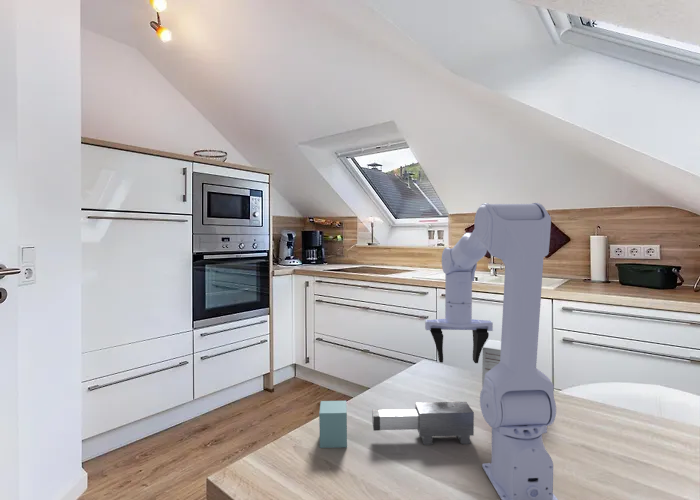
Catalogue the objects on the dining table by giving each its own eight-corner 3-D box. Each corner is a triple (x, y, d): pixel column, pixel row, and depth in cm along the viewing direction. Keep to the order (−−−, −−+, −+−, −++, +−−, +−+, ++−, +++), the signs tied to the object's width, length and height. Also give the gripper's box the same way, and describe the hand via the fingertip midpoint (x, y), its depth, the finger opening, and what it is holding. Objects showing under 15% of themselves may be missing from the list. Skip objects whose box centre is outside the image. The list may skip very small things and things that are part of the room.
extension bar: (464, 428, 72) (464, 414, 72) (373, 430, 72) (373, 416, 72) (459, 421, 75) (459, 408, 75) (372, 423, 75) (372, 409, 75)
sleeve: (473, 443, 72) (473, 412, 71) (419, 444, 72) (419, 413, 71) (465, 431, 76) (466, 401, 76) (415, 432, 76) (415, 402, 76)
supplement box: (487, 388, 96) (488, 338, 95) (519, 395, 92) (520, 343, 92) (481, 400, 90) (481, 346, 89) (515, 407, 86) (516, 351, 85)
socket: (347, 447, 71) (346, 412, 71) (319, 447, 71) (319, 413, 71) (346, 432, 76) (346, 400, 76) (321, 433, 76) (320, 401, 76)
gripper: (486, 298, 90) (486, 356, 90) (423, 298, 91) (423, 355, 92) (495, 304, 83) (495, 366, 83) (427, 304, 84) (427, 365, 85)
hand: (458, 361), depth 87 cm, fingers open, 7 cm apart
